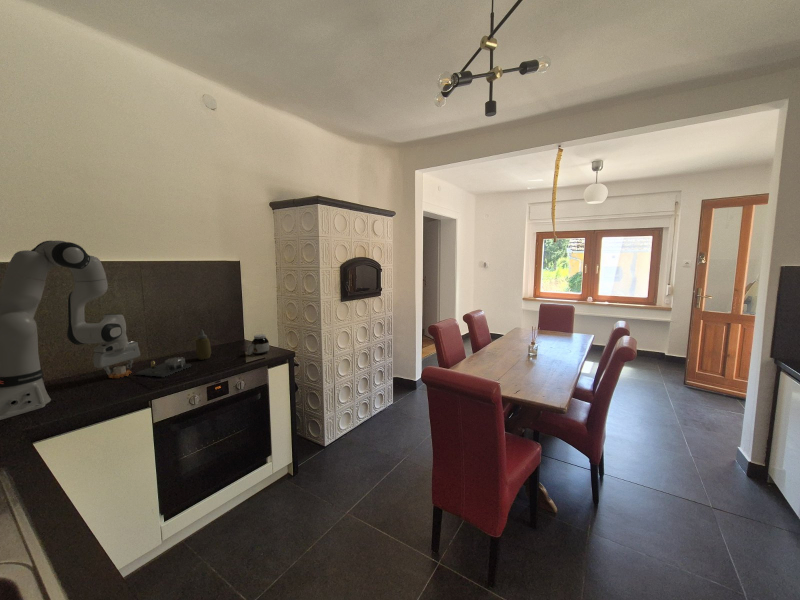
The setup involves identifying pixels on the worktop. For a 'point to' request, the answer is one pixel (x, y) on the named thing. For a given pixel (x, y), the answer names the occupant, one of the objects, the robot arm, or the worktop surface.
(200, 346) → the squeeze bottle
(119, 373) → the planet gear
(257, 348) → the spread jar
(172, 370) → the carrier
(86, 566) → the worktop surface
